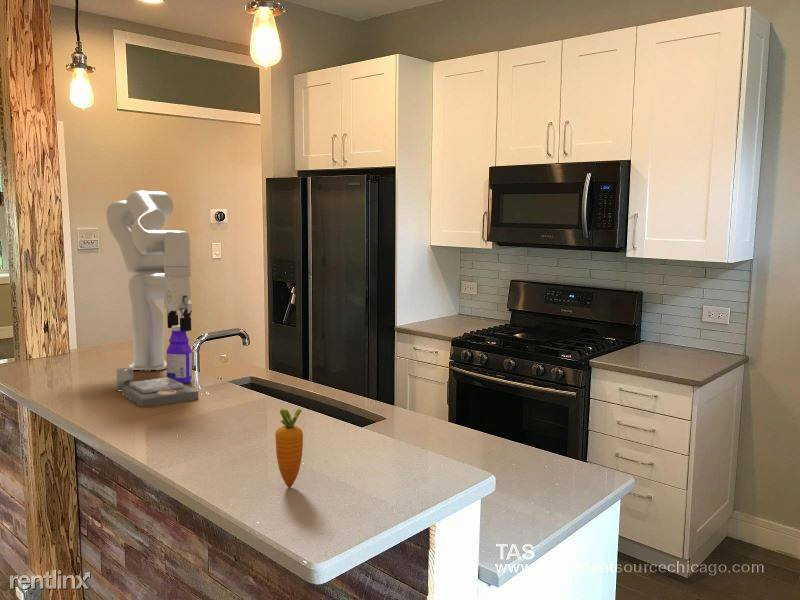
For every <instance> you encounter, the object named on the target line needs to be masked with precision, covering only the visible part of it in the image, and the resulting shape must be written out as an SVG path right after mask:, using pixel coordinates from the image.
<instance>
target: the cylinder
mask: <svg viewBox="0 0 800 600" xmlns="http://www.w3.org/2000/svg"><path fill="white" fill-rule="evenodd" d="M115 373H116V390H117V389H118V390H122V387H126V386H130V382H134V371H133V369H132V368H129V367H123V368H117V369H116V372H115Z"/></svg>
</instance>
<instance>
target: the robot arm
mask: <svg viewBox="0 0 800 600" xmlns="http://www.w3.org/2000/svg"><path fill="white" fill-rule="evenodd" d="M173 210H174V202H173V199H172V197H171V196H170V195H169V194H168V193H166V192H165V191H153V190H152V191H151V190H149V191H148V190H137V191H136V190H135V191H133V192H131V193H130V194H128V196H127V197H126V199H125V200H117V201H113V202H111V203H109V205H108V206H107V209H106V212H105V213H106V221H107V225H108V226H107V227H108V228H109V231H110V233H111V235H112V236H113V238H114V239H115V240H116V243H117V244H118V245H119V249H120V252H121V254H122V255H121V256H122V257H123V258H122V259H123V260H124V265H125V268H126V270H127V271H128V273H129V274H130V275H132V276H131V277H130V279H129V280H128V293H129V296H130V297H129V298H130V304H131V313H132V314H131V315H132V339H133V340H132V341H133V343H132V344H133V363H130V364H129V365H128V368H132V369H133V370H141V371H140V372H143V371H142V370H145V371H144V372H152V371H151V370H156V371H161V370H165V369H166V370H167V361H165V338H164V337H165V336H164V334H165V331H164V330H165V329H164V327H165V326H164V315H163V312H162V310H161V308H159V307H158V305H157V304H156V303H158V302H163V307H164V309H165V310H167V311H166V317H167V322H166V323H167V328H168V329H172V326H174V325H180V331H182V332H183V331H186V332H191V331H192V312H193V311H192V308H193V303H192V292H191V291H192V290H191V283H190V282H191V281H190V278H191V277H192V270H191V269H192V267H191V239H190V238H191V237H190V233H189V232H187V231H184V230H165V229H163V230H161V229H162V228H163V226H164V225H165V222H166V220H167V219H168V218H170V216H171V215H172V214H173ZM178 313H179V314H178ZM179 315H180V317H179ZM147 370H148V371H147Z"/></svg>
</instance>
